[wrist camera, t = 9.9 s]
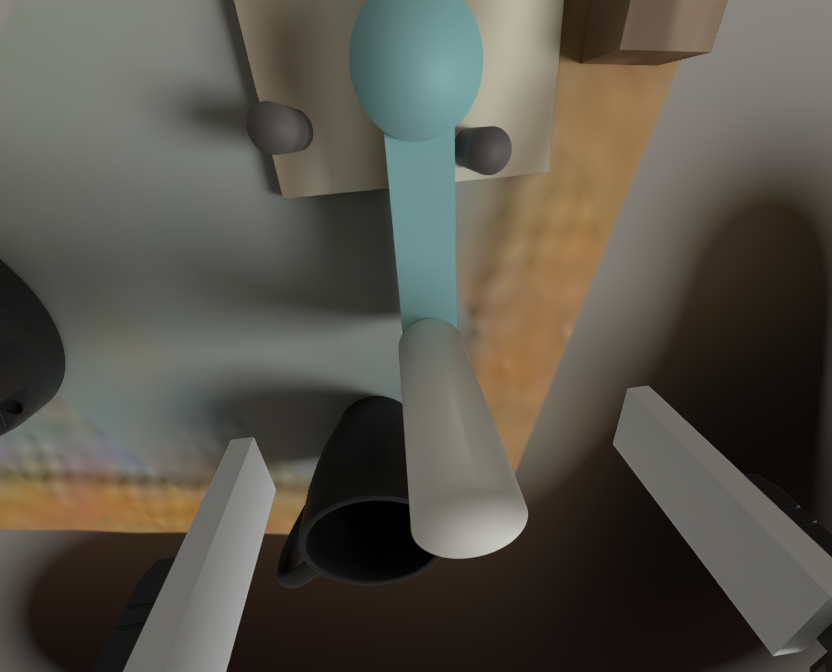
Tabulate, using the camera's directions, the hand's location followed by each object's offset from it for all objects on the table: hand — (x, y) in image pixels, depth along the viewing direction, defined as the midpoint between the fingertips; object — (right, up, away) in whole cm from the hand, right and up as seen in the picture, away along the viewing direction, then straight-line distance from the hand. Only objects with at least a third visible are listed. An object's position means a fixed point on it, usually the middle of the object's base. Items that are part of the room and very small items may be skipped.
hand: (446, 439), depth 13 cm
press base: (-2, +17, +4) cm, 17 cm away
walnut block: (+7, +18, +3) cm, 19 cm away
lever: (-1, +12, +4) cm, 13 cm away
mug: (-6, -4, +16) cm, 17 cm away
